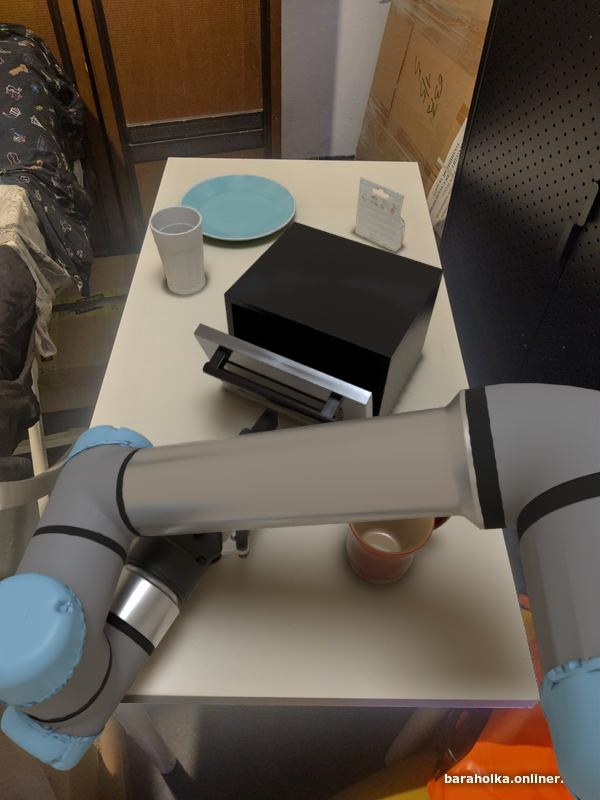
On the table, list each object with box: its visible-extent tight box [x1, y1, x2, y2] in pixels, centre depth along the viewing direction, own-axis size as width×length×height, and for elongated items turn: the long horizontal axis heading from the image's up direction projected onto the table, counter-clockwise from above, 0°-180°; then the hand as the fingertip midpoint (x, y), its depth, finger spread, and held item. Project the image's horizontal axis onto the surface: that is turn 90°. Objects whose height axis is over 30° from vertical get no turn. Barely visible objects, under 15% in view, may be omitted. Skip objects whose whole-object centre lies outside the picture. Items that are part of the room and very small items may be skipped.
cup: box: [148, 205, 206, 295], centre depth 88 cm, size 8×8×12 cm
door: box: [193, 322, 372, 426], centre depth 67 cm, size 5×22×16 cm, turn 62°
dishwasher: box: [223, 221, 445, 417], centre depth 75 cm, size 18×22×16 cm
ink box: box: [354, 177, 406, 253], centre depth 97 cm, size 3×9×12 cm, turn 50°
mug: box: [345, 516, 452, 585], centre depth 59 cm, size 12×9×10 cm
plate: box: [178, 173, 297, 242], centre depth 105 cm, size 22×22×3 cm
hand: (272, 416), depth 66 cm, fingers closed
